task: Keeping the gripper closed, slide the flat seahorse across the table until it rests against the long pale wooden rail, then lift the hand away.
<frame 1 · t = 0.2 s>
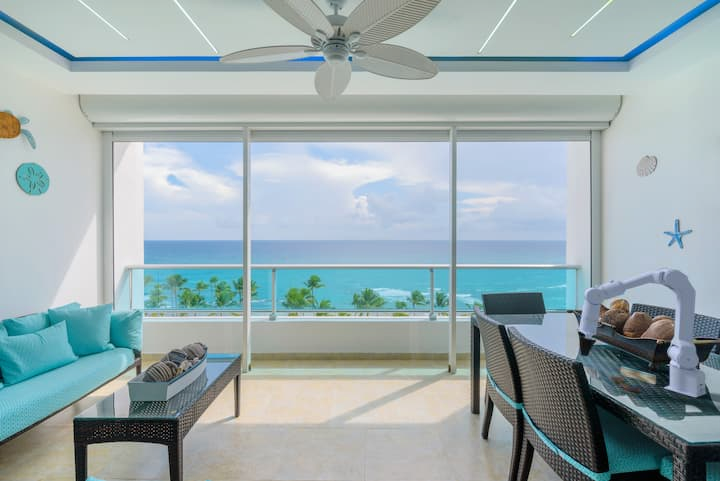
hand: (583, 353, 153), 10 cm above the table, tool pointing down, fingers open, 7 cm apart
stop rail: (637, 379, 154), on the table
seahorse: (625, 386, 147), on the table
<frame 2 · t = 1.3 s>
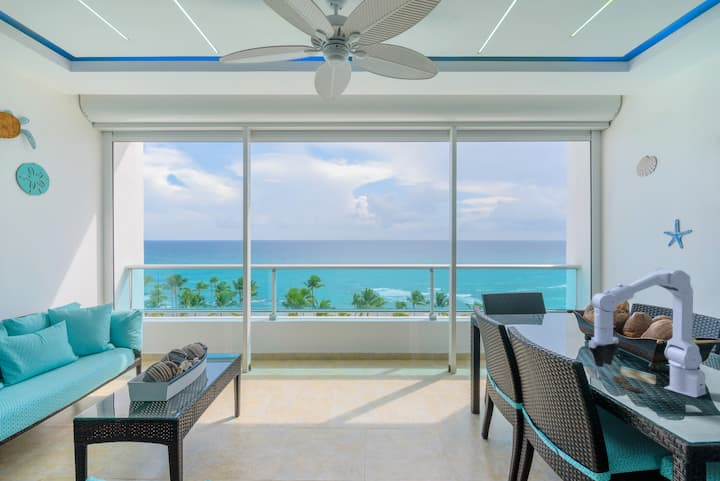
hand: (603, 365, 141), 9 cm above the table, tool pointing down, fingers open, 4 cm apart
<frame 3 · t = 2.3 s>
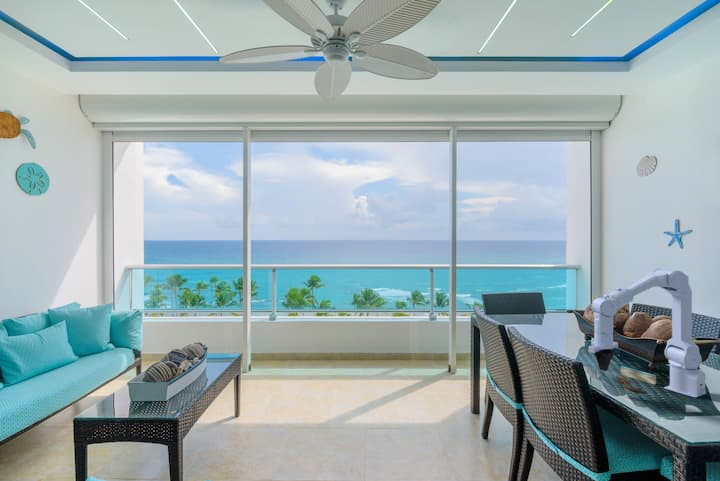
hand: (603, 370, 141), 8 cm above the table, tool pointing down, fingers closed
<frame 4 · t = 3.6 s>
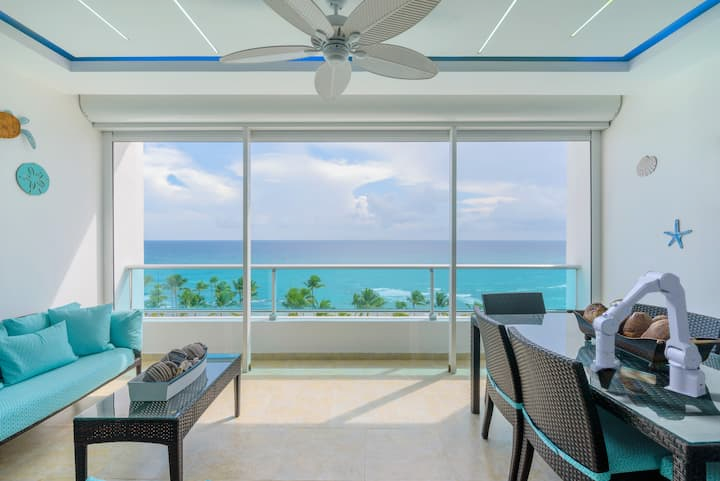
hand: (605, 388, 142), 1 cm above the table, tool pointing down, fingers closed
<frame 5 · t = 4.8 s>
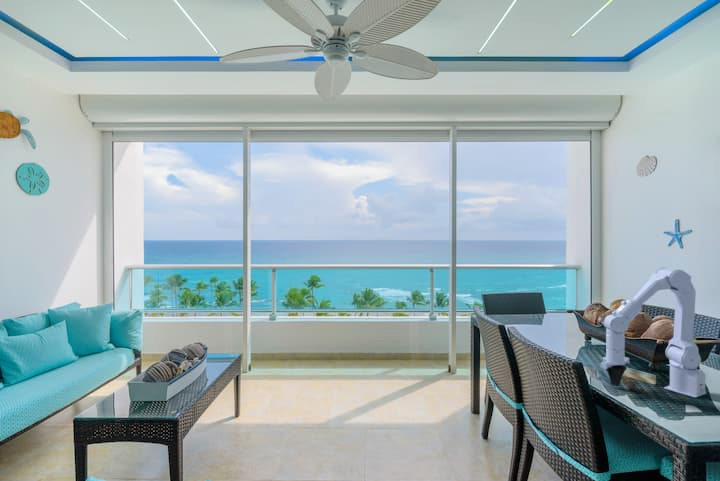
hand: (615, 385, 145), 1 cm above the table, tool pointing down, fingers closed
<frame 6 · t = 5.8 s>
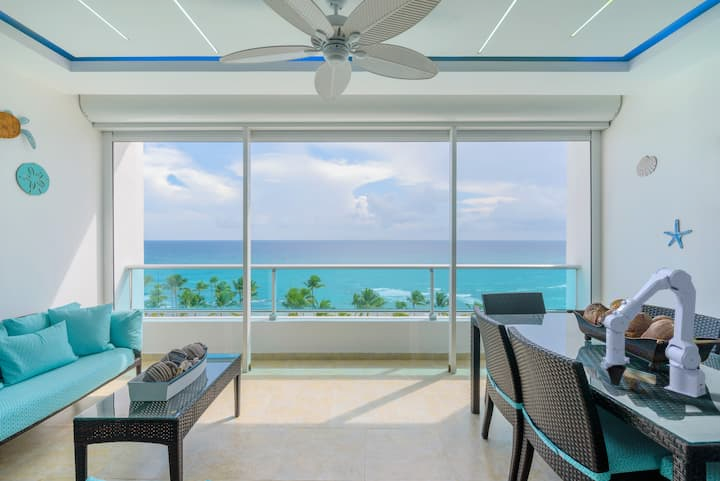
hand: (615, 384, 145), 1 cm above the table, tool pointing down, fingers closed
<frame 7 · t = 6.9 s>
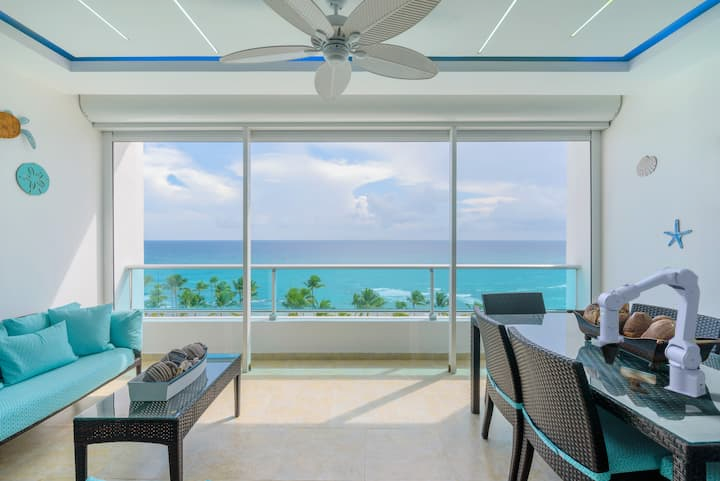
hand: (609, 363, 143), 9 cm above the table, tool pointing down, fingers closed
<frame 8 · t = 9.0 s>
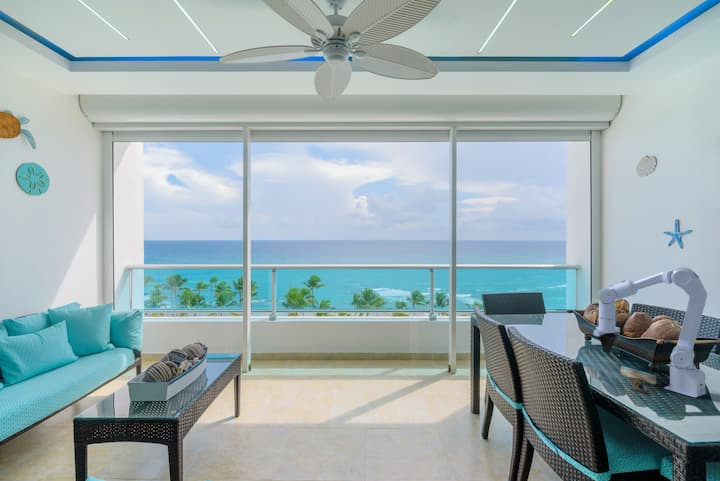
hand: (606, 352, 157), 9 cm above the table, tool pointing down, fingers closed
seahorse: (640, 388, 146), on the table
at the end: seahorse inside the target area (3.9 cm from its centre), on the table; seahorse moved 5.3 cm from its start; seahorse tilted 0° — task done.
